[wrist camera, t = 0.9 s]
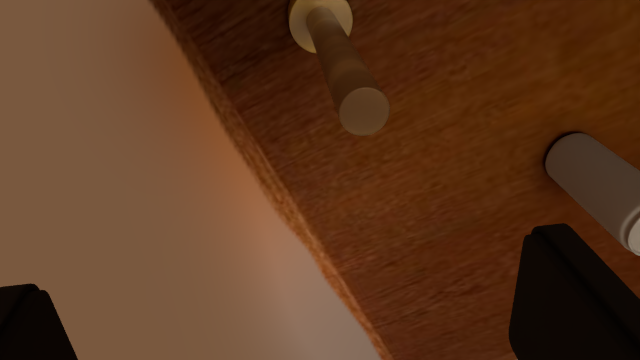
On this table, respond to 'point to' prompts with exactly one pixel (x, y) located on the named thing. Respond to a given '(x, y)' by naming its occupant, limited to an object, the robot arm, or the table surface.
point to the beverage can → (599, 185)
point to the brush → (340, 62)
